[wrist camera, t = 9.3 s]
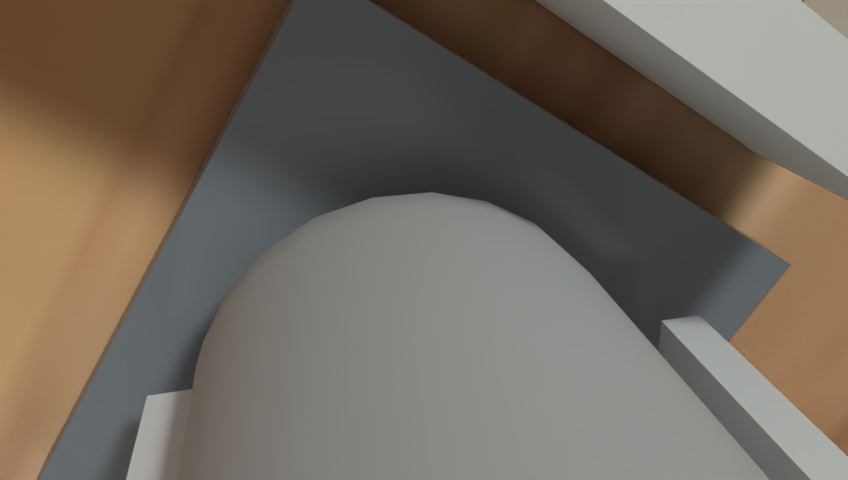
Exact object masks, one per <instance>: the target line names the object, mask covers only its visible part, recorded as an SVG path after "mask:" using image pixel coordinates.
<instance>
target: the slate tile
mask: <svg viewBox="0 0 848 480" xmlns="http://www.w3.org/2000/svg"><path fill="white" fill-rule="evenodd" d="M429 192H433V193H439V194H445V195H451V196H457V197H463V198H469V199H475V200H481V201H487V202H489V203H492V204H494V205H496V206H498V207H500V208H502V209H505V210H507V211H509V212H511V213H513V214H515V215H518V216H520V217H522V218H524V219H526V220H528V221H531V222H533V223H535V224H536V225H537V226H538V227H539V228H541V229H542V230H543V231H544V232H545V233H546V234H547V235H548V236H549V237H551V238H552V239H553V240H554V241H555V242H556V243H557V244H558V245H560V246H561V247H562V248H563V249H564V250H565V251H566V252H567V253H568V254H570V255H571V256H572V257H573V258H574V259H575V260H576V261H577V262H578V263H579V264H581V265H582V266H583V267H584V268H585V269H586V270H587V271H588V272H589V273H590V274H591V275H592V276H593V277H594V278H595V279H596V281H597V282H598V283H599V284H600V285H601V286H602V288H603V289H604V290H605V291H606V292H607V293H608V294H609V296H610V297H611V298H612V299H613V300H614V301H615V302H616V304H617V305H618V306H619V307H620V308H621V309H622V310H623V312H624V313H625V314H626V315H627V316H628V317H629V319H630V320H631V321H632V322H633V323H634V324H635V325H636V327H637V328H638V329H639V330H640V331H641V332H642V333H643V335H644V336H645V337H646V338H647V339H648V340H649V341H650V343H651V344H652V345H653V346H654V347H655V348H656V350H657V351H658V350H659V340H660V330H661V321H662V320H669V319H676V318H683V317H690V316H697V315H700V316H701V317H702V318H703V319H704V320H705V321H706V322H707V323H708V324H709V325H710V326H712V327H713V328H714V329H715V330H716V331H717V332H718V333H719V334H720V335H721V336H722V337H723V338H724V339H725V340H726V341H727V342H729V341H730V340H731V338H732V337H733V336H734V335H735V333H736V332H737V331H738V330H739V328H740V327H741V326H742V325H743V323H744V322H745V321H746V320H747V319H748V317H749V316H750V315H751V314H752V312H753V311H754V310H755V309H756V307H757V306H758V305H759V304H760V302H761V301H762V300H763V299H764V297H765V296H766V295H767V294H768V293H769V291H770V290H771V289H772V288H773V286H774V285H775V284H776V283H777V281H778V280H779V279H780V278H781V276H782V275H783V274H784V273H785V271H786V270H787V269H788V268H789V267H790V264H789V263H787V262H786V261H784V260H783V259H782V258H780V257H779V256H777V255H776V254H774V253H773V252H771V251H770V250H769V249H767V248H766V247H764V246H763V245H761V244H760V243H758V242H757V241H755V240H753V239H752V238H750V237H749V236H747V235H745V234H744V233H742V232H741V231H739V230H737V229H736V228H734V227H733V226H731V225H729V224H728V223H726V222H725V221H723V220H721V219H720V218H718V217H717V216H715V215H713V214H712V213H710V212H709V211H707V210H705V209H704V208H702V207H701V206H699V205H697V204H696V203H694V202H693V201H691V200H690V199H688V198H686V197H685V196H683V195H682V194H680V193H678V192H677V191H675V190H674V189H672V188H670V187H669V186H667V185H666V184H664V183H662V182H661V181H659V180H658V179H656V178H654V177H653V176H651V175H650V174H648V173H646V172H645V171H643V170H642V169H640V168H638V167H637V166H635V165H634V164H632V163H630V162H629V161H627V160H626V159H624V158H623V157H621V156H619V155H618V154H616V153H615V152H613V151H611V150H610V149H608V148H607V147H605V146H603V145H602V144H600V143H599V142H597V141H595V140H594V139H592V138H591V137H589V136H587V135H586V134H584V133H583V132H581V131H579V130H578V129H576V128H575V127H573V126H571V125H570V124H568V123H567V122H565V121H563V120H562V119H560V118H559V117H557V116H555V115H554V114H552V113H551V112H549V111H548V110H546V109H544V108H543V107H541V106H540V105H538V104H536V103H535V102H533V101H532V100H530V99H528V98H527V97H525V96H524V95H522V94H520V93H519V92H517V91H516V90H514V89H512V88H511V87H509V86H508V85H506V84H504V83H503V82H501V81H500V80H498V79H496V78H495V77H493V76H492V75H490V74H488V73H487V72H485V71H484V70H482V69H481V68H479V67H477V66H476V65H474V64H473V63H471V62H469V61H468V60H466V59H465V58H463V57H461V56H460V55H458V54H457V53H455V52H453V51H452V50H450V49H449V48H447V47H445V46H444V45H442V44H441V43H439V42H437V41H436V40H434V39H433V38H431V37H429V36H428V35H426V34H425V33H423V32H421V31H420V30H418V29H417V28H415V27H414V26H412V25H410V24H409V23H407V22H406V21H404V20H402V19H401V18H399V17H398V16H396V15H394V14H393V13H391V12H390V11H388V10H386V9H385V8H383V7H382V6H380V5H378V4H377V3H375V2H374V1H372V0H290V2H289V3H288V5H287V7H286V9H285V11H284V13H283V15H282V17H281V19H280V20H279V22H278V24H277V26H276V28H275V30H274V32H273V34H272V35H271V37H270V39H269V41H268V43H267V45H266V47H265V49H264V50H263V52H262V54H261V56H260V58H259V60H258V62H257V64H256V65H255V67H254V69H253V71H252V73H251V75H250V77H249V79H248V80H247V82H246V84H245V86H244V88H243V90H242V92H241V94H240V95H239V97H238V99H237V101H236V103H235V105H234V107H233V109H232V111H231V112H230V114H229V116H228V118H227V120H226V122H225V124H224V126H223V127H222V129H221V131H220V133H219V135H218V137H217V139H216V141H215V142H214V144H213V146H212V148H211V150H210V152H209V154H208V156H207V157H206V159H205V161H204V163H203V165H202V167H201V169H200V171H199V172H198V174H197V176H196V178H195V180H194V182H193V184H192V186H191V187H190V189H189V191H188V193H187V195H186V197H185V199H184V201H183V203H182V204H181V206H180V208H179V210H178V212H177V214H176V216H175V218H174V219H173V221H172V223H171V225H170V227H169V229H168V231H167V233H166V234H165V236H164V238H163V240H162V242H161V244H160V246H159V248H158V249H157V251H156V253H155V255H154V257H153V259H152V261H151V263H150V264H149V266H148V268H147V270H146V272H145V274H144V276H143V278H142V279H141V281H140V283H139V285H138V287H137V289H136V291H135V293H134V295H133V296H132V298H131V300H130V302H129V304H128V306H127V308H126V310H125V311H124V313H123V315H122V317H121V319H120V321H119V323H118V325H117V326H116V328H115V330H114V332H113V334H112V336H111V338H110V340H109V341H108V343H107V345H106V347H105V349H104V351H103V353H102V355H101V356H100V358H99V360H98V362H97V364H96V366H95V368H94V370H93V371H92V373H91V375H90V377H89V379H88V381H87V383H86V385H85V387H84V388H83V390H82V392H81V394H80V396H79V398H78V400H77V402H76V403H75V405H74V407H73V409H72V411H71V413H70V415H69V417H68V418H67V420H66V422H65V424H64V426H63V428H62V430H61V432H60V433H59V435H58V437H57V439H56V441H55V443H54V445H53V447H52V448H51V450H50V452H49V454H48V456H47V458H46V460H45V462H44V465H43V467H42V470H41V472H40V475H39V477H38V480H126V478H127V474H128V470H129V466H130V462H131V458H132V454H133V450H134V446H135V442H136V438H137V434H138V430H139V426H140V422H141V418H142V414H143V410H144V406H145V402H146V398H147V396H149V395H156V394H163V393H169V392H176V391H183V390H190V389H193V382H194V376H195V370H196V365H197V361H198V358H199V354H200V351H201V348H202V344H203V341H204V339H205V337H206V334H207V332H208V330H209V328H210V326H211V324H212V322H213V320H214V318H215V316H216V314H217V312H218V309H219V307H220V305H221V303H222V301H223V299H224V297H225V295H226V293H227V292H228V291H229V289H230V288H231V287H232V286H233V285H234V284H235V283H236V282H237V281H238V279H239V278H240V277H241V276H242V275H243V274H244V273H245V272H246V271H247V269H248V268H249V267H250V266H251V265H252V264H253V263H254V262H255V261H256V260H257V258H258V257H259V256H260V255H261V254H262V253H263V252H264V251H265V250H266V249H268V248H269V247H271V246H272V245H274V244H275V243H277V242H278V241H280V240H281V239H283V238H284V237H286V236H287V235H289V234H290V233H292V232H293V231H295V230H296V229H298V228H300V227H301V226H303V225H304V224H306V223H307V222H309V221H310V220H312V219H313V218H315V217H318V216H321V215H323V214H326V213H329V212H332V211H335V210H338V209H341V208H344V207H347V206H350V205H352V204H355V203H358V202H361V201H364V200H367V199H370V198H375V197H385V196H396V195H407V194H418V193H429Z"/></svg>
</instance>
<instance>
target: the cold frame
mask: <svg viewBox="0 0 848 480" xmlns="http://www.w3.org/2000/svg"><path fill="white" fill-rule="evenodd" d="M535 1H536V2H538V3H539V4H540V5H542V6H543V7H545V8H546V9H548V10H549V11H551V12H552V13H553V14H555V15H556V16H558V17H559V18H561V19H562V20H564V21H565V22H566V23H568V24H569V25H571V26H572V27H574V28H575V29H577V30H578V31H580V32H581V33H582V34H584V35H585V36H587V37H588V38H590V39H591V40H593V41H594V42H595V43H597V44H598V45H600V46H601V47H603V48H604V49H606V50H607V51H608V52H610V53H611V54H613V55H614V56H616V57H617V58H619V59H620V60H622V61H623V62H624V63H626V64H627V65H629V66H630V67H632V68H633V69H635V70H636V71H637V72H639V73H640V74H642V75H643V76H645V77H646V78H648V79H649V80H650V81H652V82H653V83H655V84H656V85H658V86H659V87H661V88H662V89H664V90H665V91H666V92H668V93H669V94H671V95H672V96H674V97H675V98H677V99H678V100H679V101H681V102H682V103H684V104H685V105H687V106H688V107H690V108H691V109H693V110H694V111H695V112H697V113H698V114H700V115H701V116H703V117H704V118H706V119H707V120H708V121H710V122H711V123H713V124H714V125H716V126H717V127H719V128H720V129H721V130H723V131H724V132H726V133H727V134H729V135H730V136H732V137H733V138H735V139H736V140H737V141H739V142H740V143H742V144H743V145H745V146H746V147H748V148H749V149H750V150H752V151H753V152H755V153H756V154H758V155H760V156H762V157H764V158H766V159H768V160H770V161H772V162H774V163H776V164H778V165H780V166H782V167H784V168H786V169H788V170H789V171H791V172H793V173H795V174H797V175H799V176H801V177H803V178H805V179H807V180H809V181H811V182H813V183H815V184H817V185H819V186H821V187H823V188H825V189H827V190H829V191H831V192H832V193H834V194H836V195H838V196H840V197H842V198H844V199H846V200H848V0H804V2H802V1H801V0H535Z"/></svg>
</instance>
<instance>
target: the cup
mask: <svg viewBox="0 0 848 480" xmlns="http://www.w3.org/2000/svg"><path fill="white" fill-rule="evenodd" d="M178 480H770V479H769V478H768V477H767V476H766V475H765V474H764V472H763V471H762V470H761V469H760V468H759V467H758V465H757V464H756V463H755V462H754V461H753V460H752V459H751V457H750V456H749V455H748V454H747V453H746V452H745V451H744V449H743V448H742V447H741V446H740V445H739V444H738V443H737V441H736V440H735V439H734V438H733V437H732V436H731V434H730V433H729V432H728V431H727V430H726V429H725V428H724V426H723V425H722V424H721V423H720V422H719V421H718V420H717V418H716V417H715V416H714V415H713V414H712V413H711V412H710V410H709V409H708V408H707V407H706V406H705V405H704V403H703V402H702V401H701V400H700V399H699V398H698V397H697V395H696V394H695V393H694V392H693V391H692V390H691V389H690V387H689V386H688V385H687V384H686V383H685V382H684V381H683V379H682V378H681V377H680V376H679V375H678V374H677V372H676V371H675V370H674V369H673V368H672V367H671V366H670V364H669V363H668V362H667V361H666V360H665V359H664V358H663V356H662V355H661V354H660V353H659V352H658V351H657V350H656V348H655V347H654V346H653V345H652V344H651V343H650V341H649V340H648V339H647V338H646V337H645V336H644V335H643V333H642V332H641V331H640V330H639V329H638V328H637V327H636V325H635V324H634V323H633V322H632V321H631V320H630V319H629V317H628V316H627V315H626V314H625V313H624V312H623V310H622V309H621V308H620V307H619V306H618V305H617V304H616V302H615V301H614V300H613V299H612V298H611V297H610V296H609V294H608V293H607V292H606V291H605V290H604V289H603V288H602V286H601V285H600V284H599V283H598V282H597V281H596V279H595V278H594V277H593V276H592V275H591V274H590V273H589V272H588V271H587V270H586V269H585V268H584V267H583V266H582V265H581V264H579V263H578V262H577V261H576V260H575V259H574V258H573V257H572V256H571V255H570V254H568V253H567V252H566V251H565V250H564V249H563V248H562V247H561V246H560V245H558V244H557V243H556V242H555V241H554V240H553V239H552V238H551V237H549V236H548V235H547V234H546V233H545V232H544V231H543V230H542V229H541V228H539V227H538V226H537V225H536V224H535V223H533V222H531V221H528V220H526V219H524V218H522V217H520V216H518V215H515V214H513V213H511V212H509V211H507V210H505V209H502V208H500V207H498V206H496V205H494V204H492V203H489V202H487V201H481V200H475V199H469V198H463V197H457V196H451V195H445V194H439V193H433V192H429V193H418V194H407V195H396V196H385V197H375V198H370V199H367V200H364V201H361V202H358V203H355V204H352V205H350V206H347V207H344V208H341V209H338V210H335V211H332V212H329V213H326V214H323V215H321V216H318V217H315V218H313V219H312V220H310V221H309V222H307V223H306V224H304V225H303V226H301V227H300V228H298V229H296V230H295V231H293V232H292V233H290V234H289V235H287V236H286V237H284V238H283V239H281V240H280V241H278V242H277V243H275V244H274V245H272V246H271V247H269V248H268V249H266V250H265V251H264V252H263V253H262V254H261V255H260V256H259V257H258V258H257V260H256V261H255V262H254V263H253V264H252V265H251V266H250V267H249V268H248V269H247V271H246V272H245V273H244V274H243V275H242V276H241V277H240V278H239V279H238V281H237V282H236V283H235V284H234V285H233V286H232V287H231V288H230V289H229V291H228V292H227V293H226V295H225V297H224V299H223V301H222V303H221V305H220V307H219V309H218V312H217V314H216V316H215V318H214V320H213V322H212V324H211V326H210V328H209V330H208V332H207V334H206V337H205V339H204V341H203V344H202V348H201V351H200V354H199V358H198V361H197V365H196V370H195V376H194V382H193V389H192V395H191V401H190V407H189V413H188V419H187V425H186V431H185V437H184V443H183V449H182V455H181V461H180V467H179V473H178Z"/></svg>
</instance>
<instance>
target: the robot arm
mask: <svg viewBox="0 0 848 480" xmlns="http://www.w3.org/2000/svg"><path fill="white" fill-rule="evenodd" d="M658 352H659V353H660V354H661V355H662V356H663V358H664V359H665V360H666V361H667V362H668V363H669V364H670V366H671V367H672V368H673V369H674V370H675V371H676V372H677V374H678V375H679V376H680V377H681V378H682V379H683V381H684V382H685V383H686V384H687V385H688V386H689V387H690V389H691V390H692V391H693V392H694V393H695V394H696V395H697V397H698V398H699V399H700V400H701V401H702V402H703V403H704V405H705V406H706V407H707V408H708V409H709V410H710V412H711V413H712V414H713V415H714V416H715V417H716V418H717V420H718V421H719V422H720V423H721V424H722V425H723V426H724V428H725V429H726V430H727V431H728V432H729V433H730V434H731V436H732V437H733V438H734V439H735V440H736V441H737V443H738V444H739V445H740V446H741V447H742V448H743V449H744V451H745V452H746V453H747V454H748V455H749V456H750V457H751V459H752V460H753V461H754V462H755V463H756V464H757V465H758V467H759V468H760V469H761V470H762V471H763V472H764V474H765V475H766V476H767V477H768V478H769V479H770V480H848V457H847V456H846V455H845V454H844V453H843V452H842V451H841V450H840V449H839V448H838V447H837V446H836V445H835V444H834V443H833V442H832V441H831V440H830V439H829V438H828V437H827V436H825V435H824V434H823V433H822V432H821V431H820V430H819V429H818V428H817V427H816V426H815V425H814V424H813V423H812V422H811V421H810V420H809V419H808V418H807V417H806V416H805V415H804V414H802V413H801V412H800V411H799V410H798V409H797V408H796V407H795V406H794V405H793V404H792V403H791V402H790V401H789V400H788V399H787V398H786V397H785V396H784V395H783V394H782V393H781V392H779V391H778V390H777V389H776V388H775V387H774V386H773V385H772V384H771V383H770V382H769V381H768V380H767V379H766V378H765V377H764V376H763V375H762V374H761V373H760V372H759V371H758V370H756V369H755V368H754V367H753V366H752V365H751V364H750V363H749V362H748V361H747V360H746V359H745V358H744V357H743V356H742V355H741V354H740V353H739V352H738V351H737V350H736V349H735V348H733V347H732V346H731V345H730V344H729V343H728V342H727V341H726V340H725V339H724V338H723V337H722V336H721V335H720V334H719V333H718V332H717V331H716V330H715V329H714V328H713V327H712V326H710V325H709V324H708V323H707V322H706V321H705V320H704V319H703V318H702V317H701V316H700V315H697V316H690V317H683V318H676V319H669V320H662V321H661V330H660V340H659V350H658ZM191 395H192V389H190V390H183V391H176V392H169V393H163V394H156V395H149V396H147V398H146V402H145V406H144V410H143V414H142V418H141V422H140V426H139V430H138V434H137V438H136V442H135V446H134V450H133V454H132V458H131V462H130V466H129V470H128V474H127V478H126V480H178V473H179V467H180V461H181V455H182V449H183V443H184V437H185V431H186V425H187V419H188V413H189V407H190V401H191Z"/></svg>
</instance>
